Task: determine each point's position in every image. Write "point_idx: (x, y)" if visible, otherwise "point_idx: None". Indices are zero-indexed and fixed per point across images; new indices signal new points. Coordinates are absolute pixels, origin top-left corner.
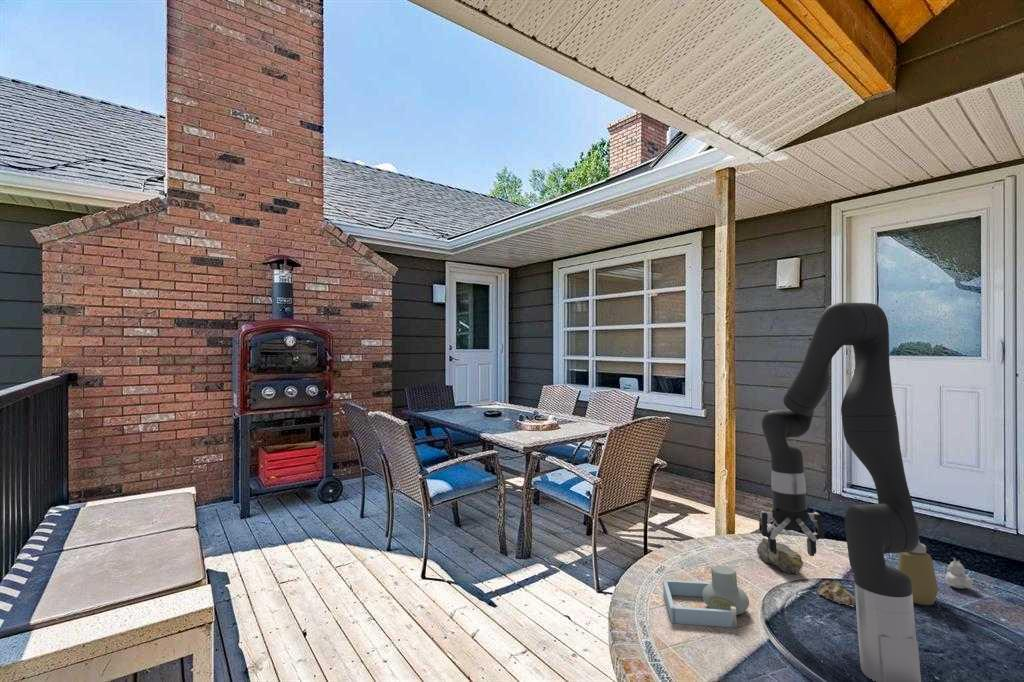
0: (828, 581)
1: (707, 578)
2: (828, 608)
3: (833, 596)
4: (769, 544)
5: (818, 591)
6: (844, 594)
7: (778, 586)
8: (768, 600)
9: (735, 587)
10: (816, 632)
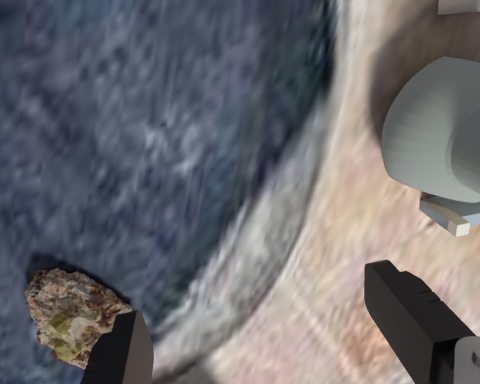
0: None
1: None
2: (116, 236)
3: (90, 296)
4: (445, 309)
5: None
6: (53, 309)
7: (238, 322)
8: (286, 229)
9: (476, 121)
10: (179, 50)
